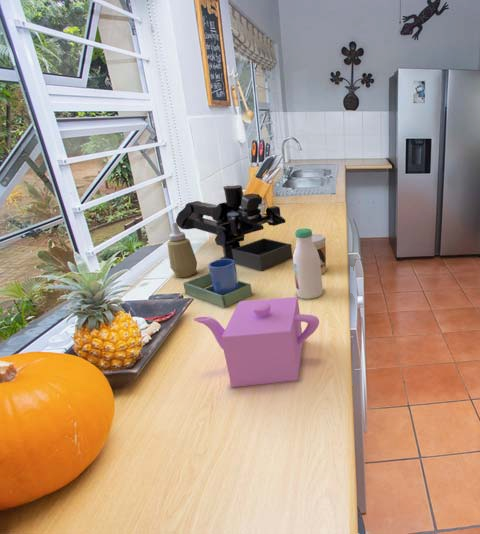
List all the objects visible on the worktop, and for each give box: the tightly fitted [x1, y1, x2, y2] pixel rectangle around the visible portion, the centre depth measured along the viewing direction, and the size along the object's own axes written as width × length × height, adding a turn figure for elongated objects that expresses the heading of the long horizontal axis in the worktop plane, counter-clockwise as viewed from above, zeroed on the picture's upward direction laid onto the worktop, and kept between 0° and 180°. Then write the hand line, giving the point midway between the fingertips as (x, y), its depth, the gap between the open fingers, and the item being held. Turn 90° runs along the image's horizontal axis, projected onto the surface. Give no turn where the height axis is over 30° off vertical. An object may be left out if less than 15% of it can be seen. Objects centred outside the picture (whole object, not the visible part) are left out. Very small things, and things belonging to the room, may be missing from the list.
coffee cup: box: [312, 233, 327, 275], centre depth 131 cm, size 9×9×12 cm
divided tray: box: [183, 272, 253, 309], centre depth 116 cm, size 19×10×4 cm, turn 59°
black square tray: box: [232, 237, 293, 272], centre depth 141 cm, size 15×15×6 cm
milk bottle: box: [292, 227, 324, 300], centre depth 113 cm, size 8×8×20 cm
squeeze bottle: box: [167, 222, 198, 278], centre depth 128 cm, size 8×8×18 cm
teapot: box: [193, 296, 320, 388], centre depth 83 cm, size 15×25×14 cm, turn 99°
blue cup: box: [208, 258, 239, 295], centre depth 113 cm, size 7×7×11 cm
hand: (274, 224), depth 126 cm, fingers open, 9 cm apart
